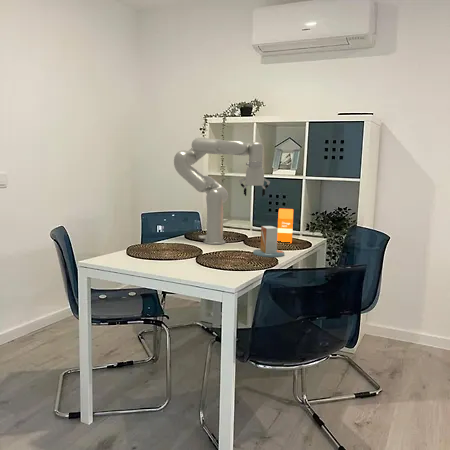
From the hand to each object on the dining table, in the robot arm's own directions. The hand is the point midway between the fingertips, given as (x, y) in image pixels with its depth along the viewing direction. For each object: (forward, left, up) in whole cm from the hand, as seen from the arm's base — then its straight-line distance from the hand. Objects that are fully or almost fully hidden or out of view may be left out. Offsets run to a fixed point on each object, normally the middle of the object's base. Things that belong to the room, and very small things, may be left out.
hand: (254, 196), depth 264 cm
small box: (+9, -22, -27) cm, 36 cm away
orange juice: (+19, +19, -28) cm, 39 cm away
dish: (+9, -22, -28) cm, 37 cm away
